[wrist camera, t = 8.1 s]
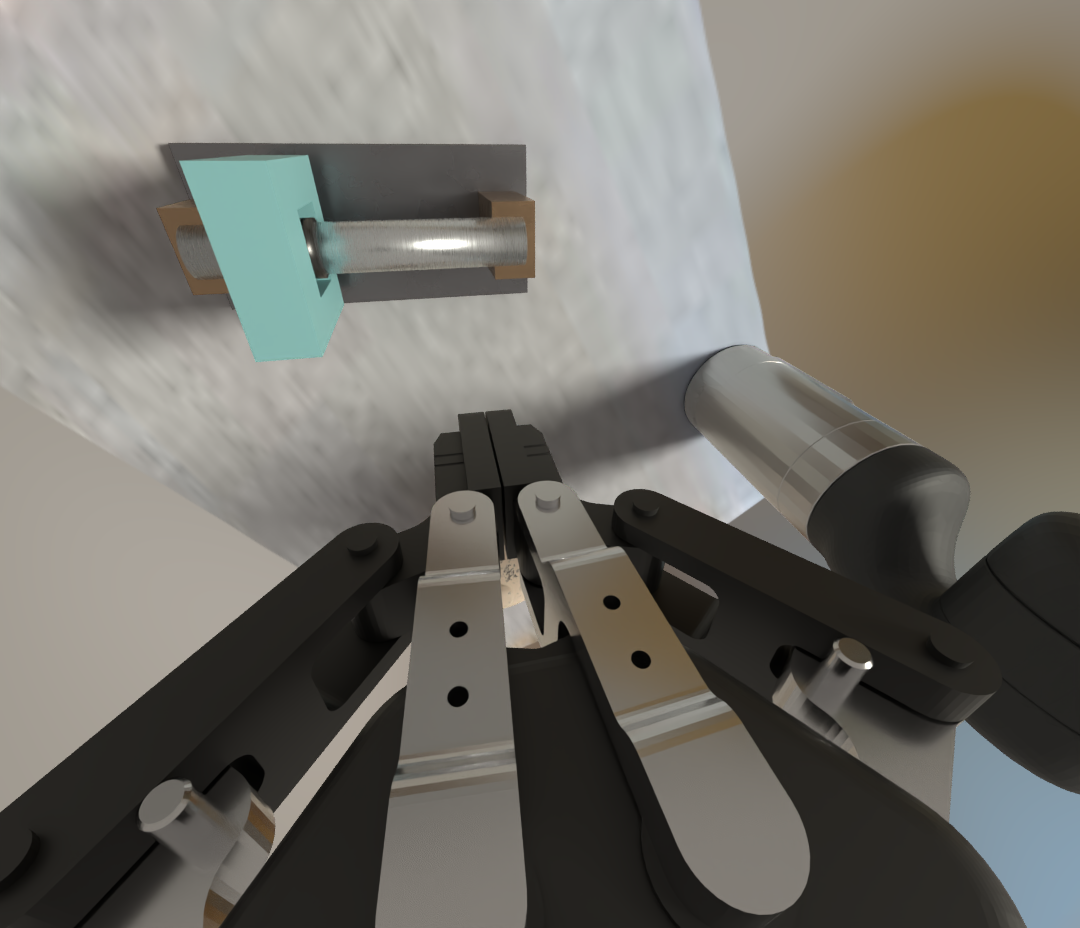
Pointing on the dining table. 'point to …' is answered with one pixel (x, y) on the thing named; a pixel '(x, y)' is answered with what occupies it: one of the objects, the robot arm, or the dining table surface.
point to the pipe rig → (390, 219)
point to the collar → (267, 250)
